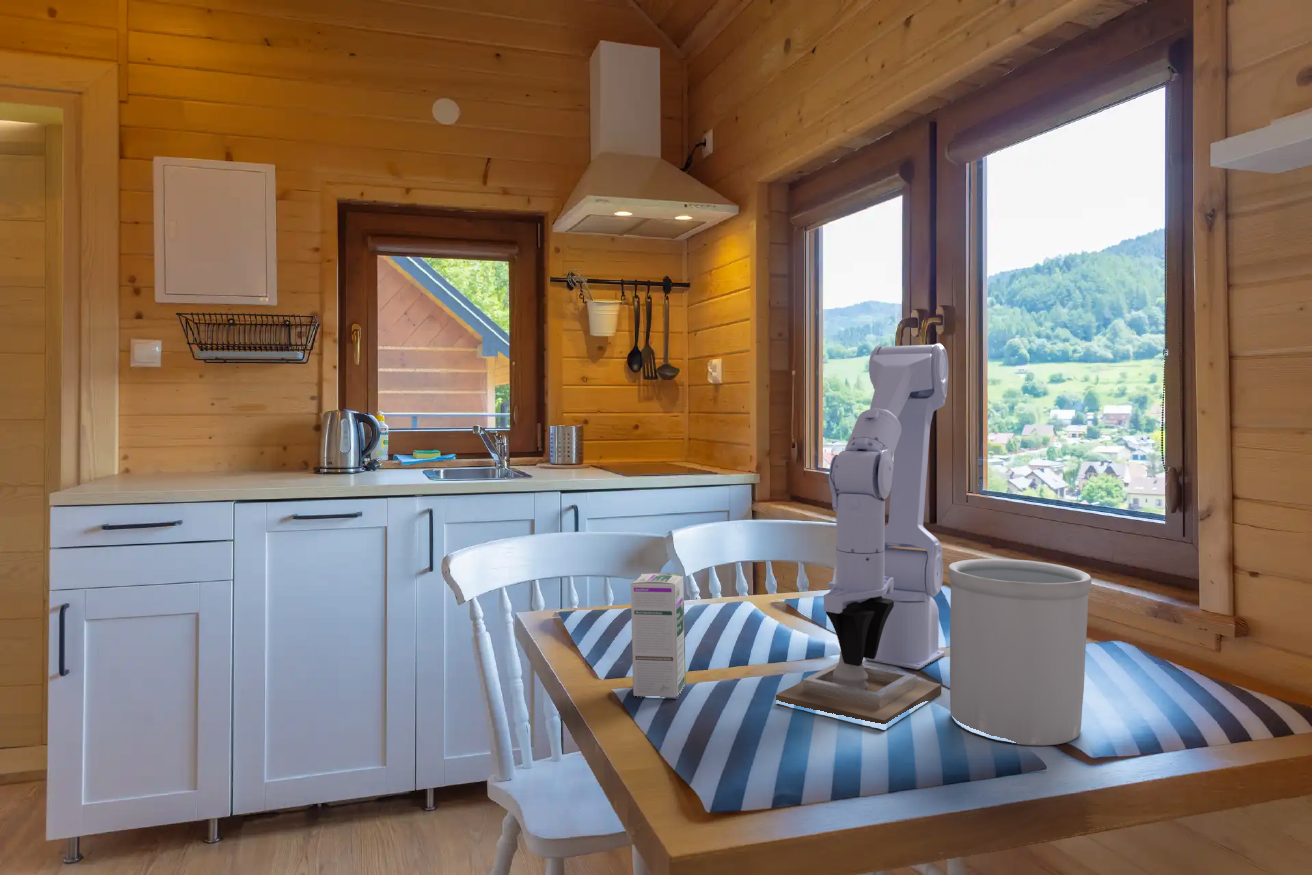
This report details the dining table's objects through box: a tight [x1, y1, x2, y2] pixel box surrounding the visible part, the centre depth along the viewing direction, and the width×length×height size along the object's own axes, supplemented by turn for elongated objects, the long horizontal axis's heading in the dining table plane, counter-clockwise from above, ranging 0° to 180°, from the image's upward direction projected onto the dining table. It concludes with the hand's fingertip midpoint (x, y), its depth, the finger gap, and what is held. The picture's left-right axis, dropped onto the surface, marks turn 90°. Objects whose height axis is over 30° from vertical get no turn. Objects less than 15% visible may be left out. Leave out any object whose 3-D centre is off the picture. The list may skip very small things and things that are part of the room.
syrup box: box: [630, 572, 687, 698], centre depth 113 cm, size 6×6×14 cm
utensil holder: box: [947, 558, 1092, 746], centre depth 101 cm, size 15×15×18 cm
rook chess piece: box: [832, 651, 869, 690], centre depth 111 cm, size 4×4×8 cm
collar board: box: [775, 661, 942, 724], centre depth 110 cm, size 16×14×3 cm
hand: (859, 660), depth 110 cm, fingers closed on rook chess piece, 3 cm apart
